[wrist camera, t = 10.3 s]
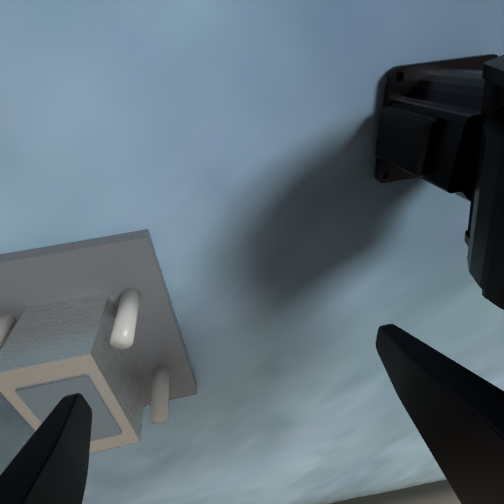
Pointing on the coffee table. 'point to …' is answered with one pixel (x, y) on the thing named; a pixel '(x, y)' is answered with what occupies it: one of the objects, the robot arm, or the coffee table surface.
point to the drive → (74, 368)
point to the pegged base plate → (123, 295)
